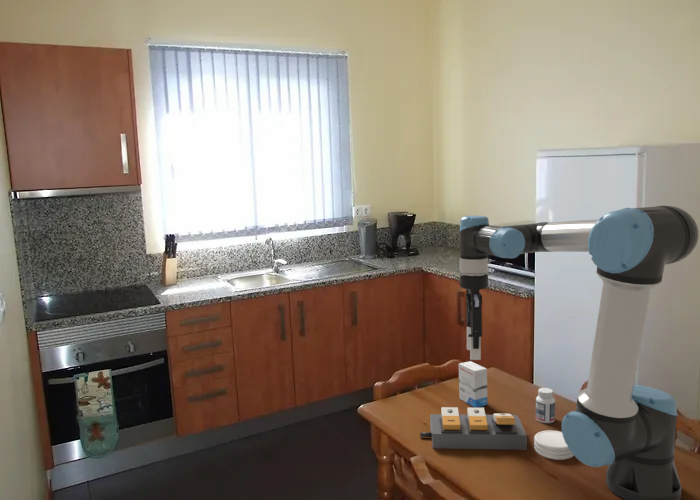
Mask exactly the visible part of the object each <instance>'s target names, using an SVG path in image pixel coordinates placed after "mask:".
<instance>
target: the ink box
mask: <svg viewBox="0 0 700 500" xmlns="http://www.w3.org/2000/svg"><path fill="white" fill-rule="evenodd" d="M458 385H459V386H458V388H459V391H458V392H459V400H461V401H463V402H465V403H466V404H468V405H470V406H471V407H472V408H482V407H485V406H487V405H488V368H486V367H484V366H482V365H481V364H477V363H475V362H474V361H472V360H469V361H465V362H460V363H458Z"/></svg>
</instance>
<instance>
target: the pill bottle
mask: <svg viewBox="0 0 700 500" xmlns="http://www.w3.org/2000/svg"><path fill="white" fill-rule="evenodd" d="M537 390H538V391H537V393H538V395H537V396H536V398H535V419H536V421H538V422H539V423H543V424H552V423H554V422H555V420H556V398H555V397H554V390H553V389H551V388H549V387H540V388H539V389H537Z"/></svg>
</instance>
